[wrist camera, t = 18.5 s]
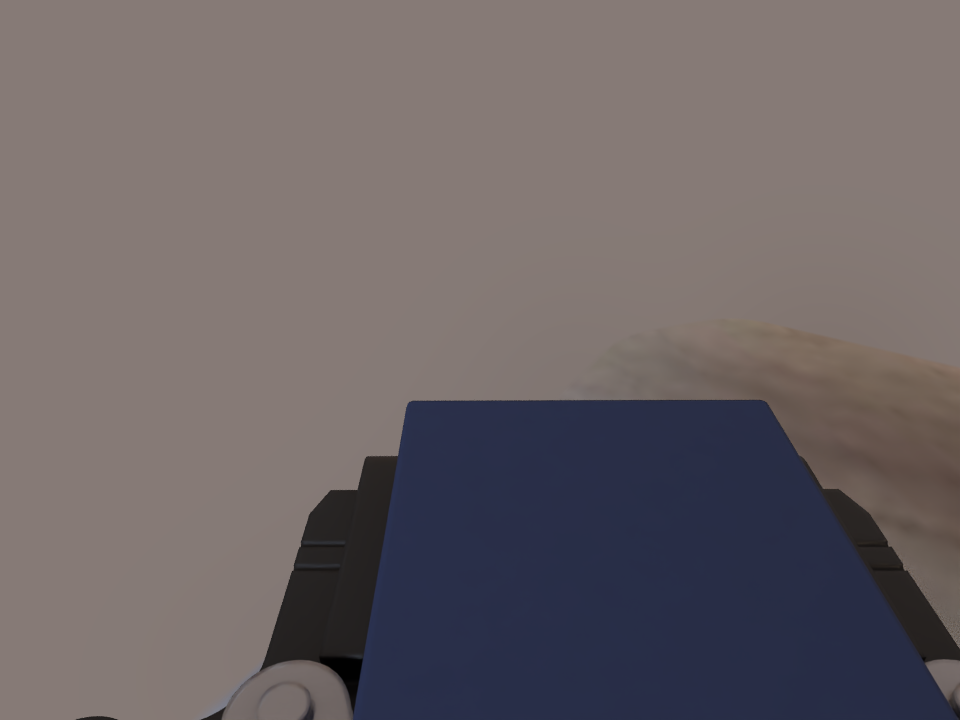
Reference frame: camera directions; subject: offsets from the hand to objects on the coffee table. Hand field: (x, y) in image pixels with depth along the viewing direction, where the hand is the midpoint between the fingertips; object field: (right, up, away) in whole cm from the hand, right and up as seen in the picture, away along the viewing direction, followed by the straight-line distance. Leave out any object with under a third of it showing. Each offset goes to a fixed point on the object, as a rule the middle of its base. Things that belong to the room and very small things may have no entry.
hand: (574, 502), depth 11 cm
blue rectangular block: (0, -8, +5) cm, 9 cm away
